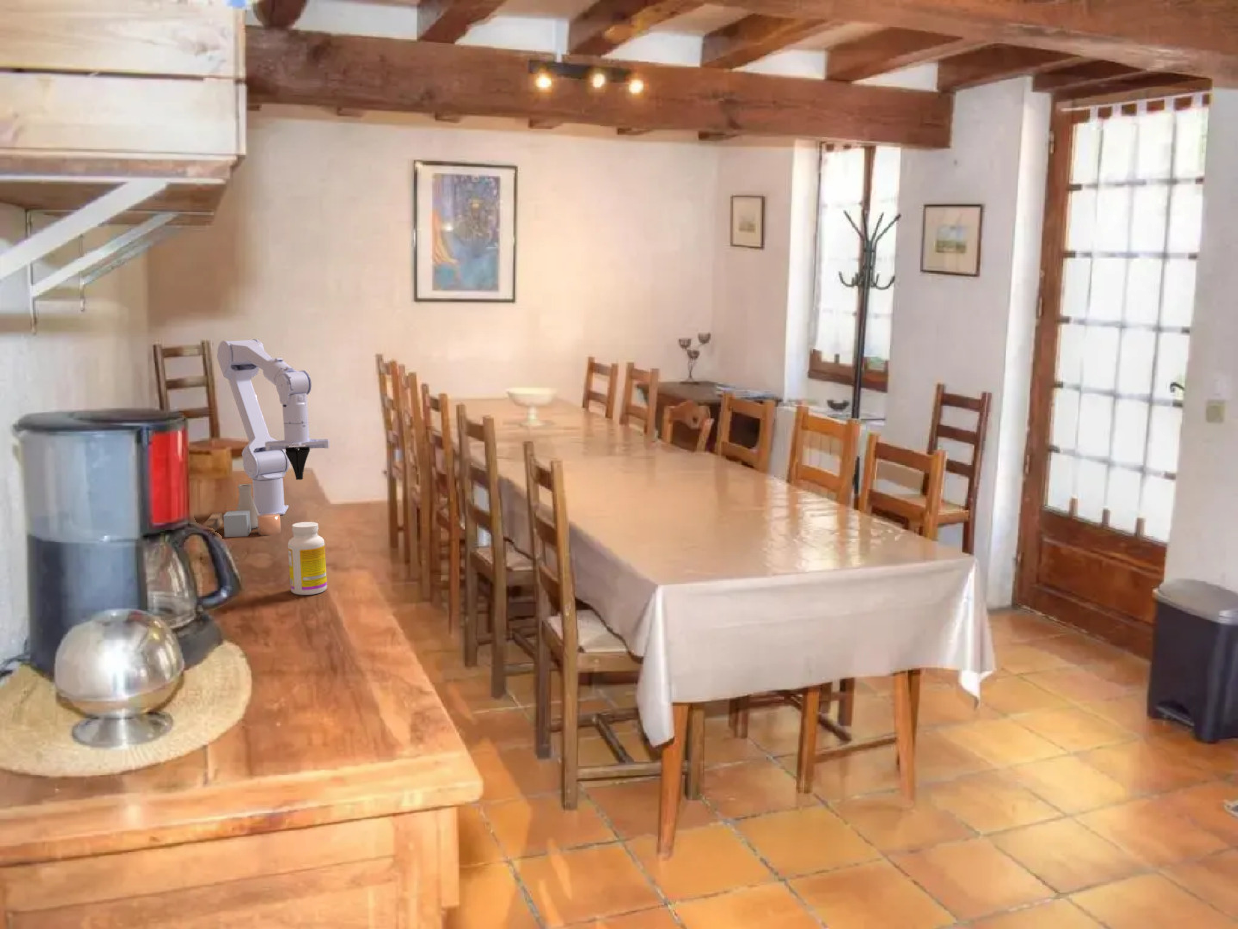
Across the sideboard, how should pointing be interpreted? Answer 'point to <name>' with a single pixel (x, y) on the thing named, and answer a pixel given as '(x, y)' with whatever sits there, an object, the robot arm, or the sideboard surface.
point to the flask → (247, 503)
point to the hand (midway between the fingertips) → (299, 479)
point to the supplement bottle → (307, 560)
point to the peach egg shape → (269, 524)
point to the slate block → (237, 523)
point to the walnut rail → (214, 521)
